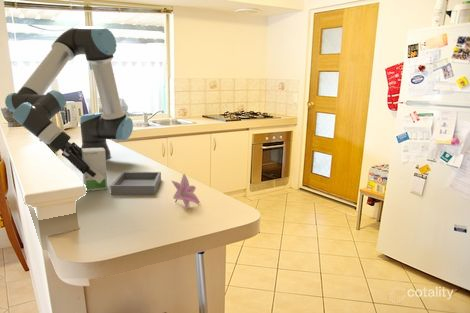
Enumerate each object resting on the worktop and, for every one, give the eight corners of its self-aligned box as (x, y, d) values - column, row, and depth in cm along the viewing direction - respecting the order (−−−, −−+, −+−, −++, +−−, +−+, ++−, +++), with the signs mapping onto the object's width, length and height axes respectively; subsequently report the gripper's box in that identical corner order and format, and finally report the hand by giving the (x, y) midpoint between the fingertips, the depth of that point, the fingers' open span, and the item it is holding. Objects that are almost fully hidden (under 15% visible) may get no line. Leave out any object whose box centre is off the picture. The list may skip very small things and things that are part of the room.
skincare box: (84, 191, 129) (81, 151, 125) (83, 186, 134) (80, 148, 131) (108, 188, 133) (105, 150, 129) (106, 183, 138) (103, 146, 134)
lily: (167, 215, 113) (180, 193, 109) (157, 192, 121) (169, 171, 117) (197, 217, 120) (210, 197, 117) (186, 195, 128) (197, 176, 125)
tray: (122, 179, 144) (122, 171, 143) (161, 179, 145) (160, 172, 144) (111, 194, 126) (110, 185, 126) (154, 194, 128) (154, 185, 127)
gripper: (55, 139, 136) (100, 175, 144) (39, 151, 115) (92, 193, 123) (68, 126, 136) (112, 162, 144) (54, 136, 115) (107, 178, 123)
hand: (103, 176), depth 133 cm, fingers open, 9 cm apart
